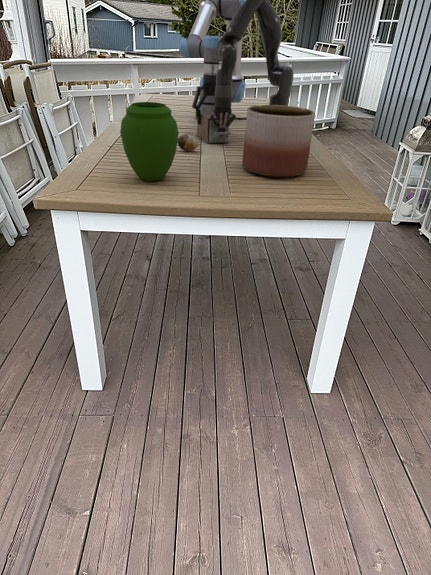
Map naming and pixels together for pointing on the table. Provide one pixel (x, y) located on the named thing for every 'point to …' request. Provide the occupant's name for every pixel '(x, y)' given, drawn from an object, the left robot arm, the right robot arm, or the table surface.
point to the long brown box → (205, 127)
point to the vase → (149, 139)
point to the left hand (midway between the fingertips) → (209, 123)
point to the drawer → (217, 133)
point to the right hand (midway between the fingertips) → (221, 136)
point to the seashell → (188, 142)
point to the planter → (277, 140)
